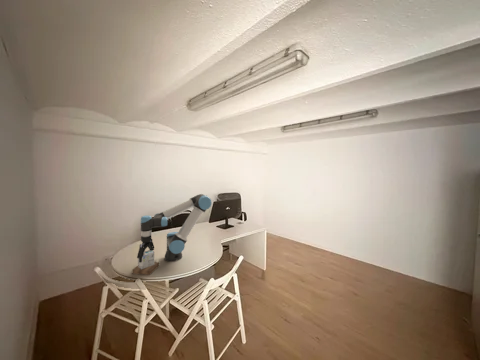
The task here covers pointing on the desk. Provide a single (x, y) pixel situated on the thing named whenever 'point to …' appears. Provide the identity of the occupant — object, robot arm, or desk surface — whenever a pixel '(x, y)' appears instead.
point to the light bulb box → (147, 259)
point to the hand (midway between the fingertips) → (146, 261)
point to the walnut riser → (145, 269)
